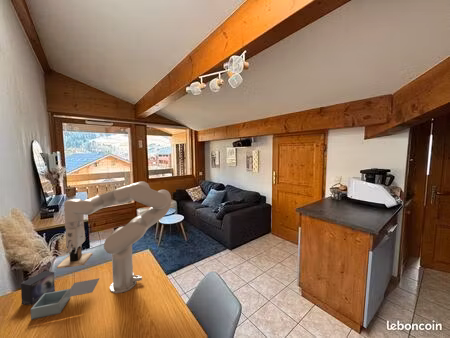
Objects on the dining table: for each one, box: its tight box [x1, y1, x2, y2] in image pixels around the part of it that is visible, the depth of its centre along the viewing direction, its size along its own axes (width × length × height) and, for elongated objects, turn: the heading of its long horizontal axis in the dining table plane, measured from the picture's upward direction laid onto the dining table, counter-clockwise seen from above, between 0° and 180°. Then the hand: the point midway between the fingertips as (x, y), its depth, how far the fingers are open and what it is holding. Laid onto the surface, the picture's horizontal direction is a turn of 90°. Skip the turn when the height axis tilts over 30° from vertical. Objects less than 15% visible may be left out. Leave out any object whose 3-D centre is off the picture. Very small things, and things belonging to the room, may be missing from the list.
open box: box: [30, 288, 71, 321], centre depth 87 cm, size 10×10×5 cm
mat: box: [69, 277, 100, 298], centre depth 101 cm, size 12×12×1 cm
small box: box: [20, 270, 56, 306], centre depth 94 cm, size 11×6×10 cm, turn 168°
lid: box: [56, 248, 93, 270], centre depth 98 cm, size 11×11×6 cm
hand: (75, 258), depth 98 cm, fingers closed on lid, 3 cm apart
